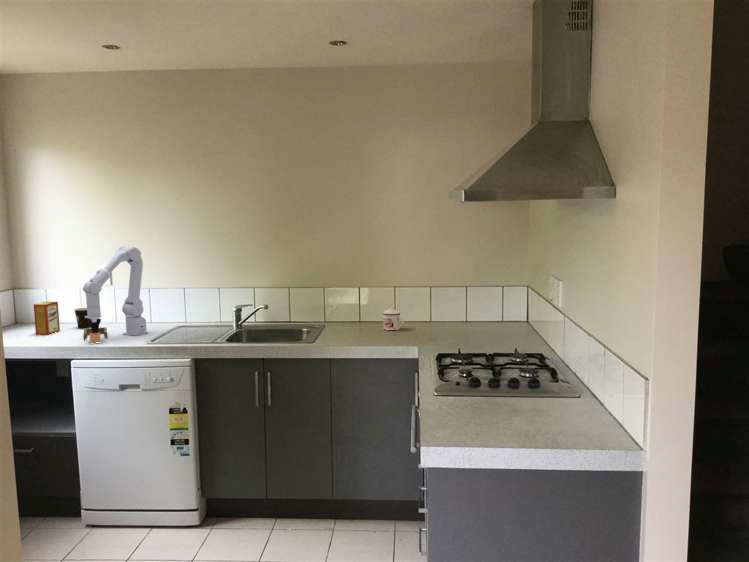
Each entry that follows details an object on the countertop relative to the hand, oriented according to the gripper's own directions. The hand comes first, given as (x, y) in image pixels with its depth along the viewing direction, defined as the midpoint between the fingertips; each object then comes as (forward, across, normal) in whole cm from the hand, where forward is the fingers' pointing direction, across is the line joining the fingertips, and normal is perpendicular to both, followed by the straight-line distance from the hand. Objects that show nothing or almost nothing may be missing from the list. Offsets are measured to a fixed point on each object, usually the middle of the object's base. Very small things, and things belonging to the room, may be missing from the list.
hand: (95, 334), depth 289 cm
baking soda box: (+3, -31, -22) cm, 39 cm away
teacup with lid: (+4, +40, +140) cm, 145 cm away
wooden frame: (+3, -11, 0) cm, 12 cm away
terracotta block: (+3, +4, 0) cm, 5 cm away
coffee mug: (+3, -38, -6) cm, 38 cm away
